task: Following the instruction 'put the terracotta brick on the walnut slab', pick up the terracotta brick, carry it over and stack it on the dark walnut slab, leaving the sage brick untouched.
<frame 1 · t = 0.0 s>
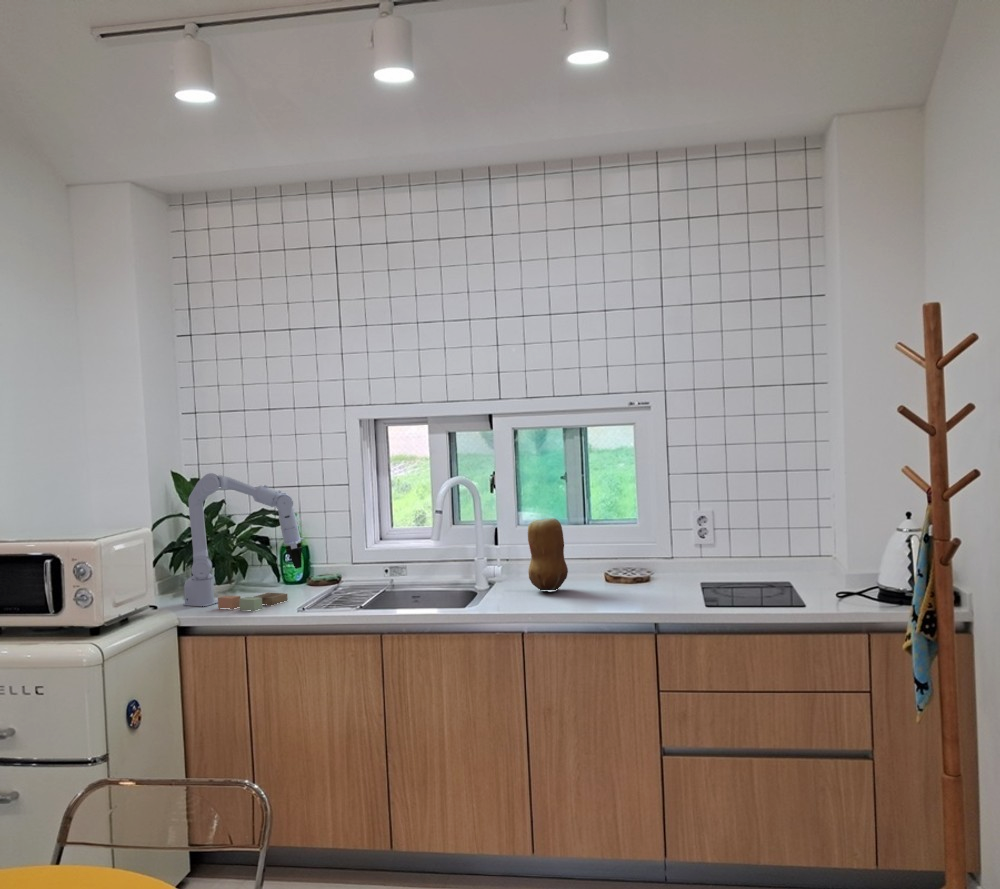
hand: (297, 566, 330), 11 cm above the countertop, tool pointing down, fingers open, 7 cm apart
butternut squash: (549, 592, 323), on the countertop
sage brick: (251, 610, 310), on the countertop
walnut slab: (270, 604, 321), on the countertop
terracotta brick: (229, 609, 314), on the countertop
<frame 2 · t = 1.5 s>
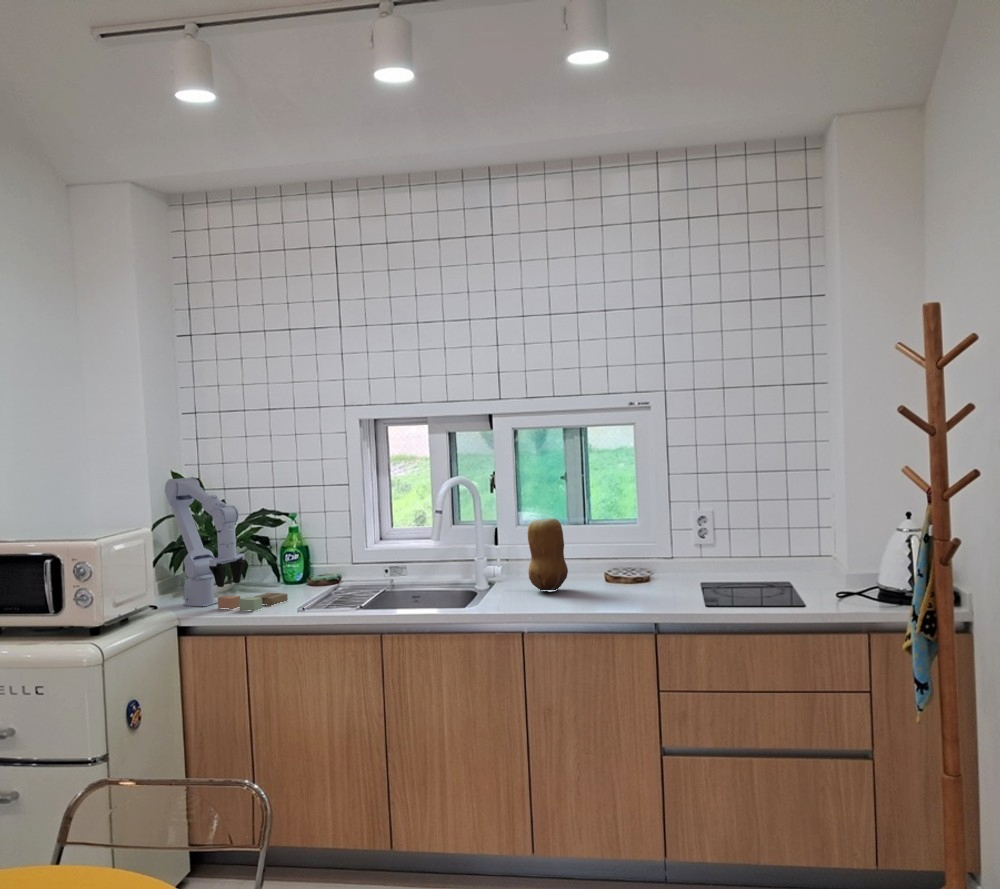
hand: (228, 584, 313), 8 cm above the countertop, tool pointing down, fingers open, 7 cm apart
nothing on the countertop moved.
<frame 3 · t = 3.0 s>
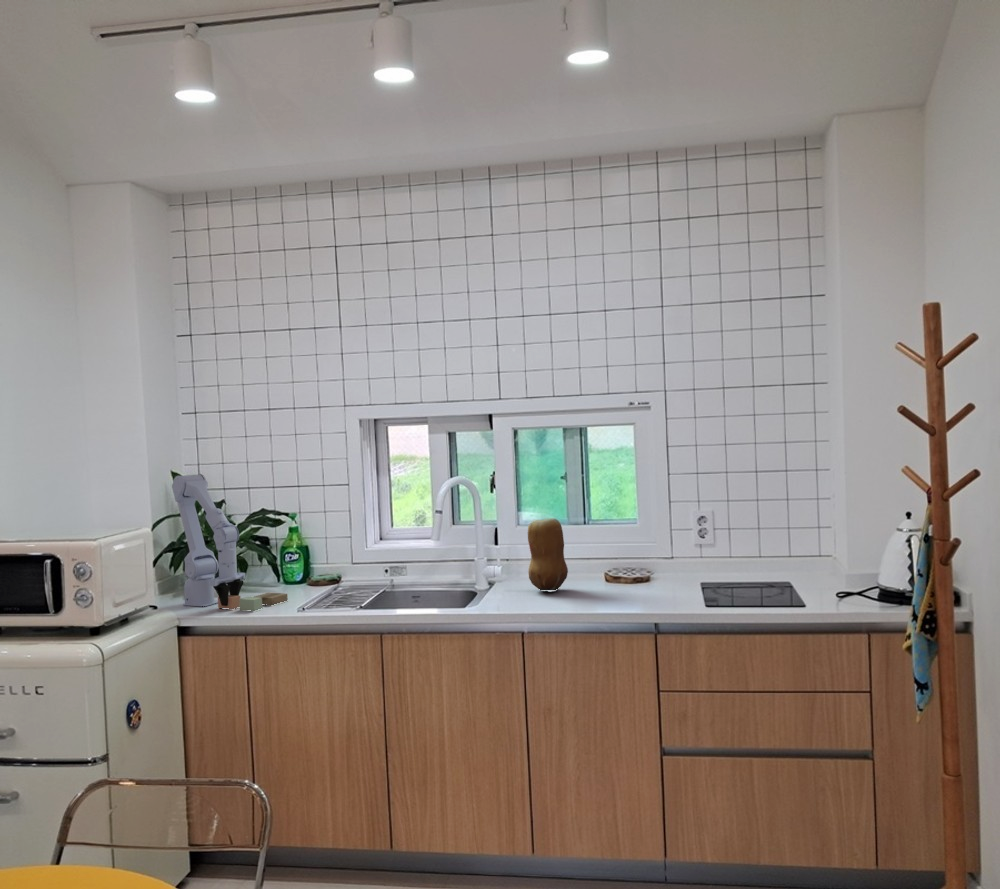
hand: (229, 604, 314), 1 cm above the countertop, tool pointing down, fingers closed on terracotta brick, 4 cm apart
terracotta brick: (229, 608, 314), on the countertop, touching gripper
everything else where it was.
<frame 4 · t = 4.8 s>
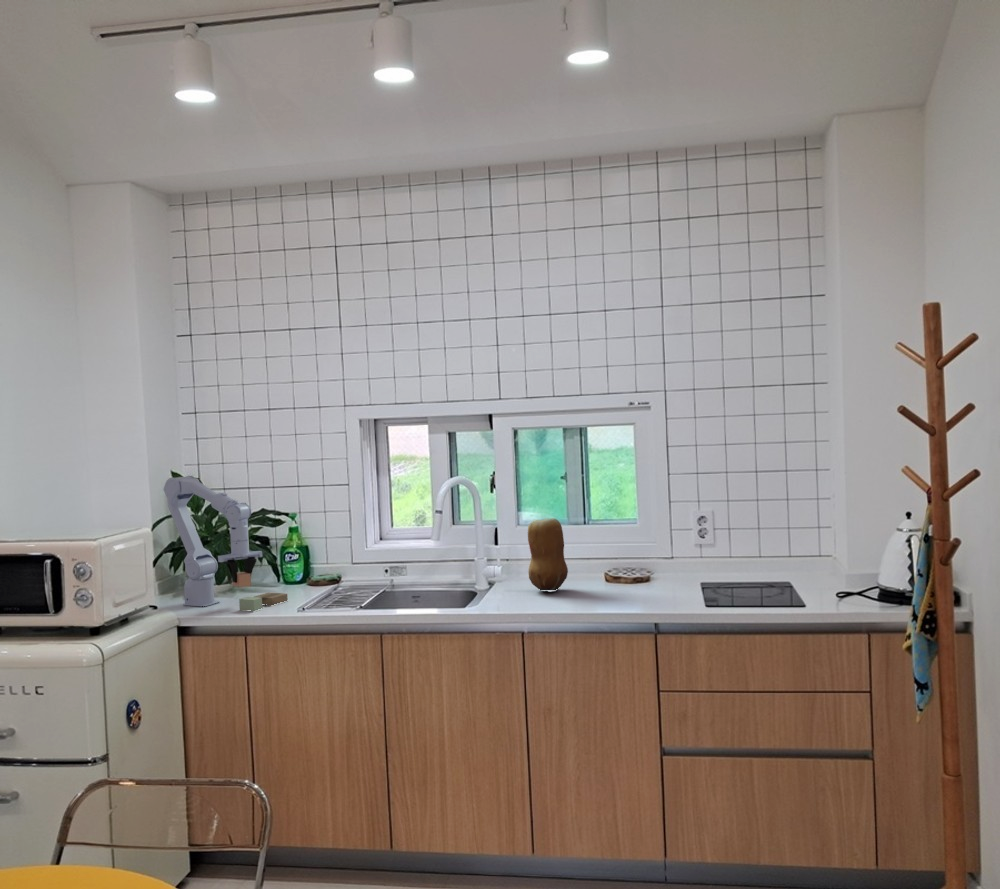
hand: (241, 581, 315), 8 cm above the countertop, tool pointing down, fingers closed on terracotta brick, 4 cm apart
terracotta brick: (241, 585, 315), point 7 cm above the countertop, touching gripper
everything else where it was.
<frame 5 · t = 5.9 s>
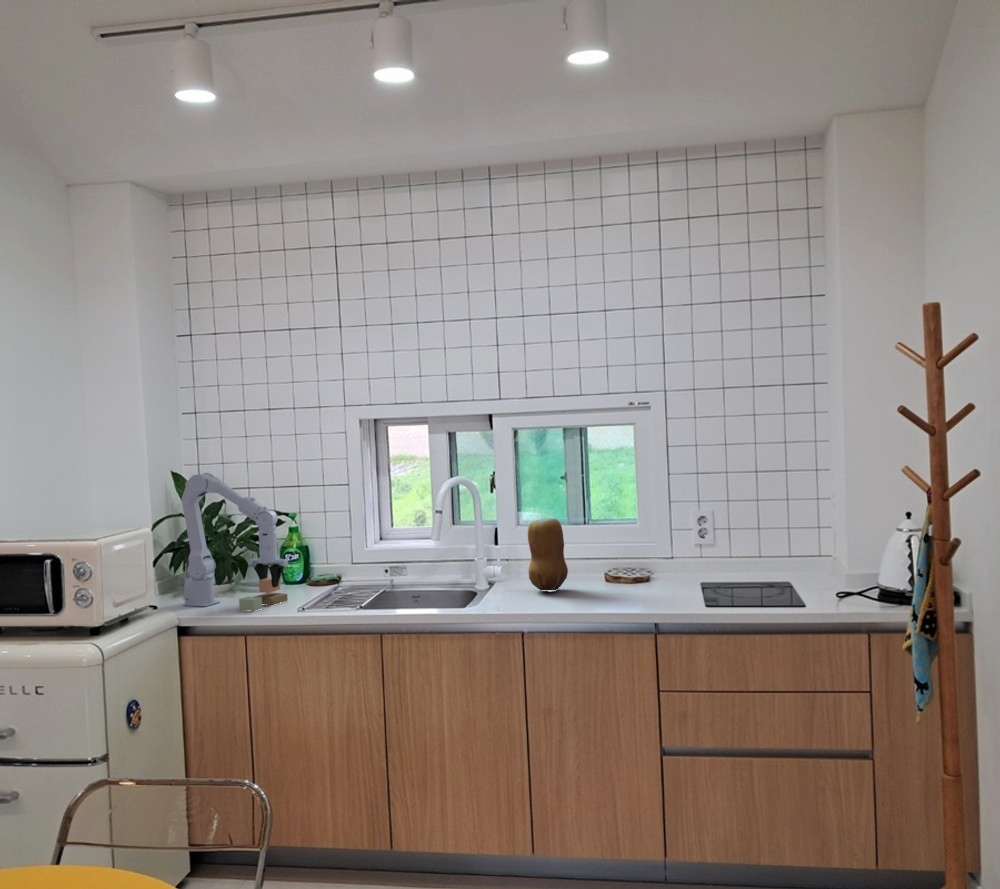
hand: (269, 586, 320), 6 cm above the countertop, tool pointing down, fingers closed on terracotta brick, 4 cm apart
terracotta brick: (269, 590, 320), point 4 cm above the countertop, touching gripper
everything else where it was.
when the fingers open (5 cm above the countertop, at t = 6.7 s): terracotta brick drops 1 cm, resting on walnut slab.
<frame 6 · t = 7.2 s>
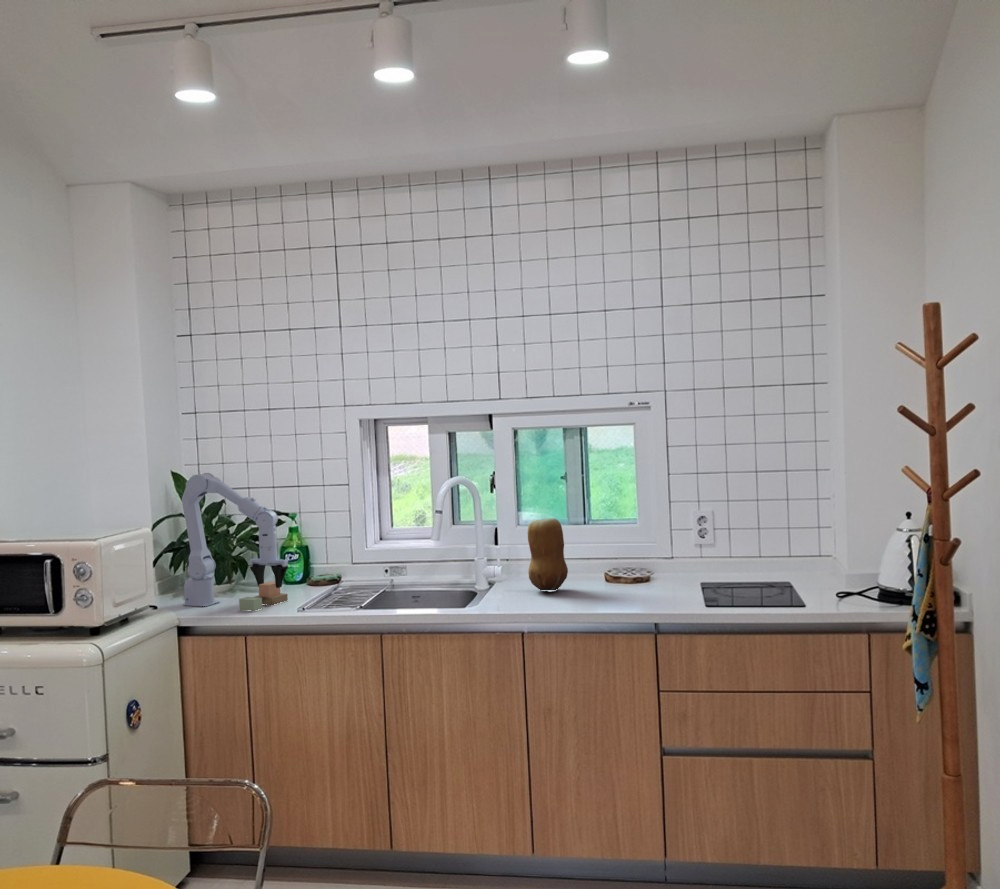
hand: (269, 586, 320), 5 cm above the countertop, tool pointing down, fingers open, 7 cm apart
walnut slab: (270, 604, 321), on the countertop, touching terracotta brick
terracotta brick: (269, 595, 321), point 3 cm above the countertop, touching walnut slab
everything else where it was.
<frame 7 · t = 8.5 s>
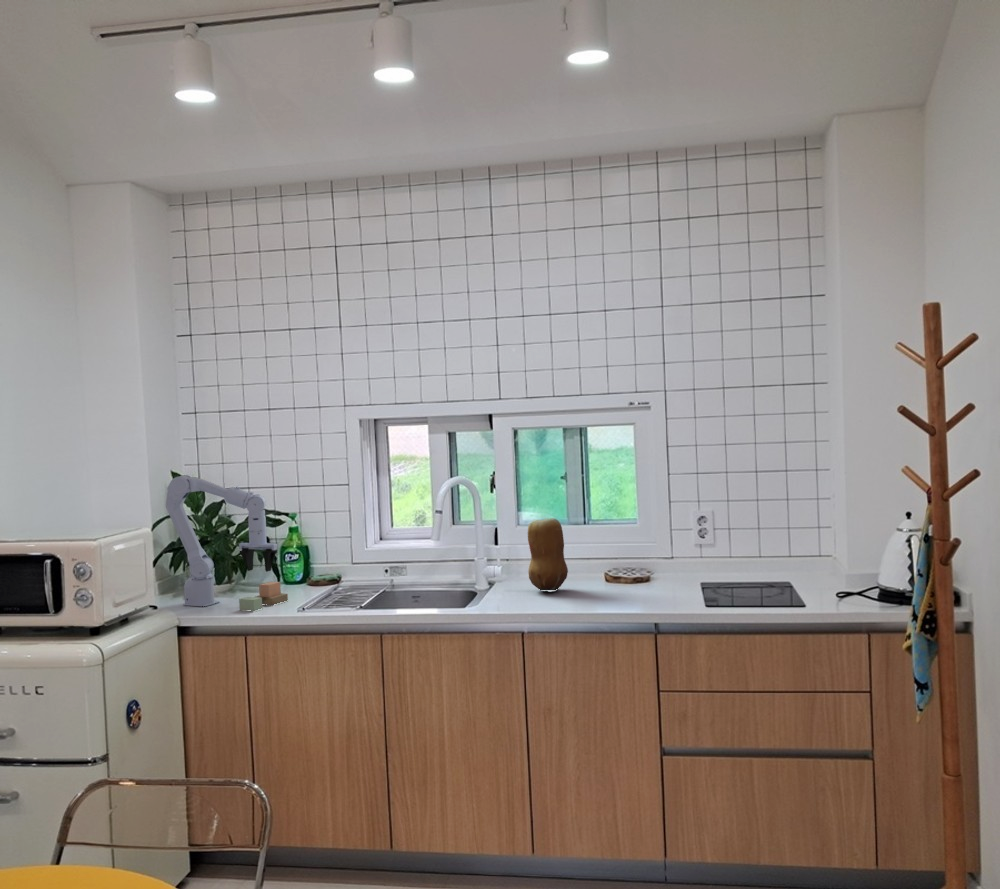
hand: (259, 570, 324), 10 cm above the countertop, tool pointing down, fingers open, 7 cm apart
nothing on the countertop moved.
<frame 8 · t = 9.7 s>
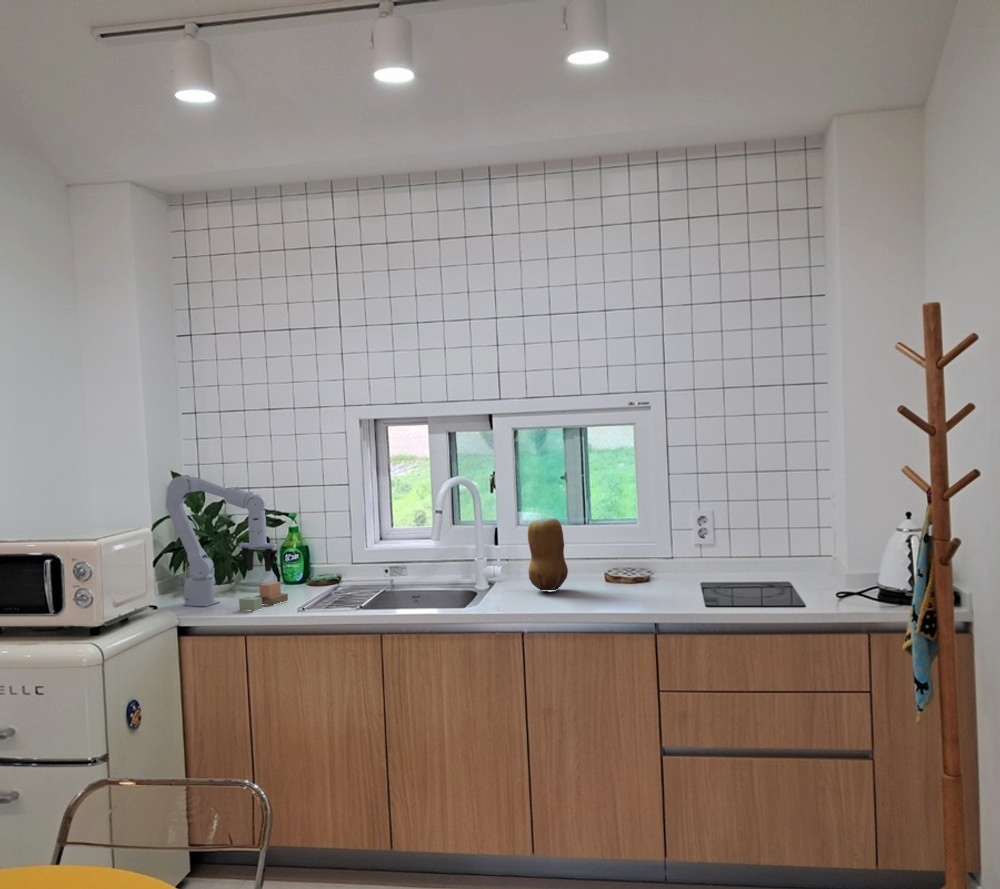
hand: (259, 570, 324), 10 cm above the countertop, tool pointing down, fingers open, 7 cm apart
nothing on the countertop moved.
at the end: terracotta brick 0.1 cm off-centre on the walnut slab, point 3.0 cm above the walnut slab's base; the gripper is holding nothing; sage brick moved 0.2 cm from its start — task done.
